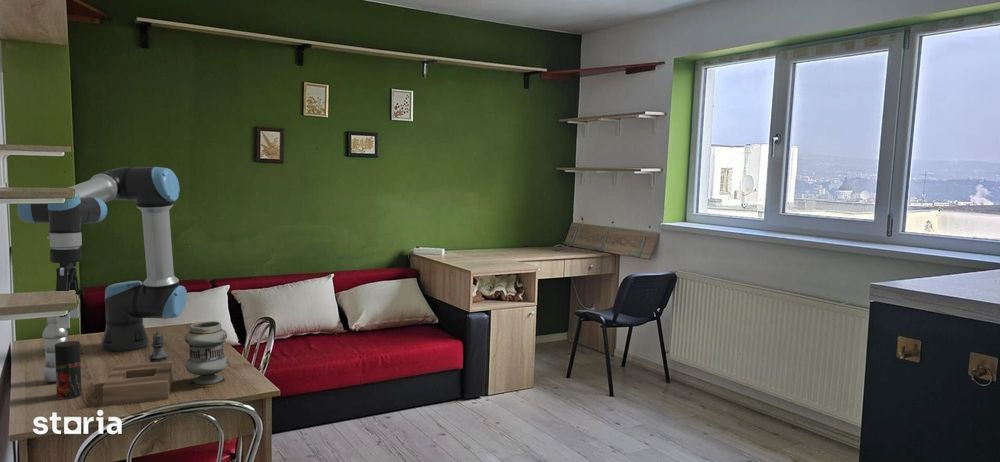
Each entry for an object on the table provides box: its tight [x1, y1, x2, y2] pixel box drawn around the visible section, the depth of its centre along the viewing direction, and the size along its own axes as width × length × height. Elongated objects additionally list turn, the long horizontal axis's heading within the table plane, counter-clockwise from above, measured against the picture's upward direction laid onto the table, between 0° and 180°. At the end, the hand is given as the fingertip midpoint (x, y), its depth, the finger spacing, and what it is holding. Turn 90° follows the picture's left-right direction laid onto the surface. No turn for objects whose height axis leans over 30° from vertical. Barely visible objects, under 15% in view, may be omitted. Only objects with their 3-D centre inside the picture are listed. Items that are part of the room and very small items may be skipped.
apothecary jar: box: [184, 320, 230, 388], centre depth 208 cm, size 12×12×18 cm
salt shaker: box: [147, 330, 169, 363], centre depth 222 cm, size 6×6×12 cm
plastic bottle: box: [41, 316, 69, 383], centre depth 205 cm, size 6×7×20 cm
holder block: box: [102, 360, 174, 406], centre depth 200 cm, size 22×16×5 cm
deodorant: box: [55, 340, 83, 400], centre depth 193 cm, size 6×6×15 cm
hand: (68, 323), depth 192 cm, fingers open, 13 cm apart
